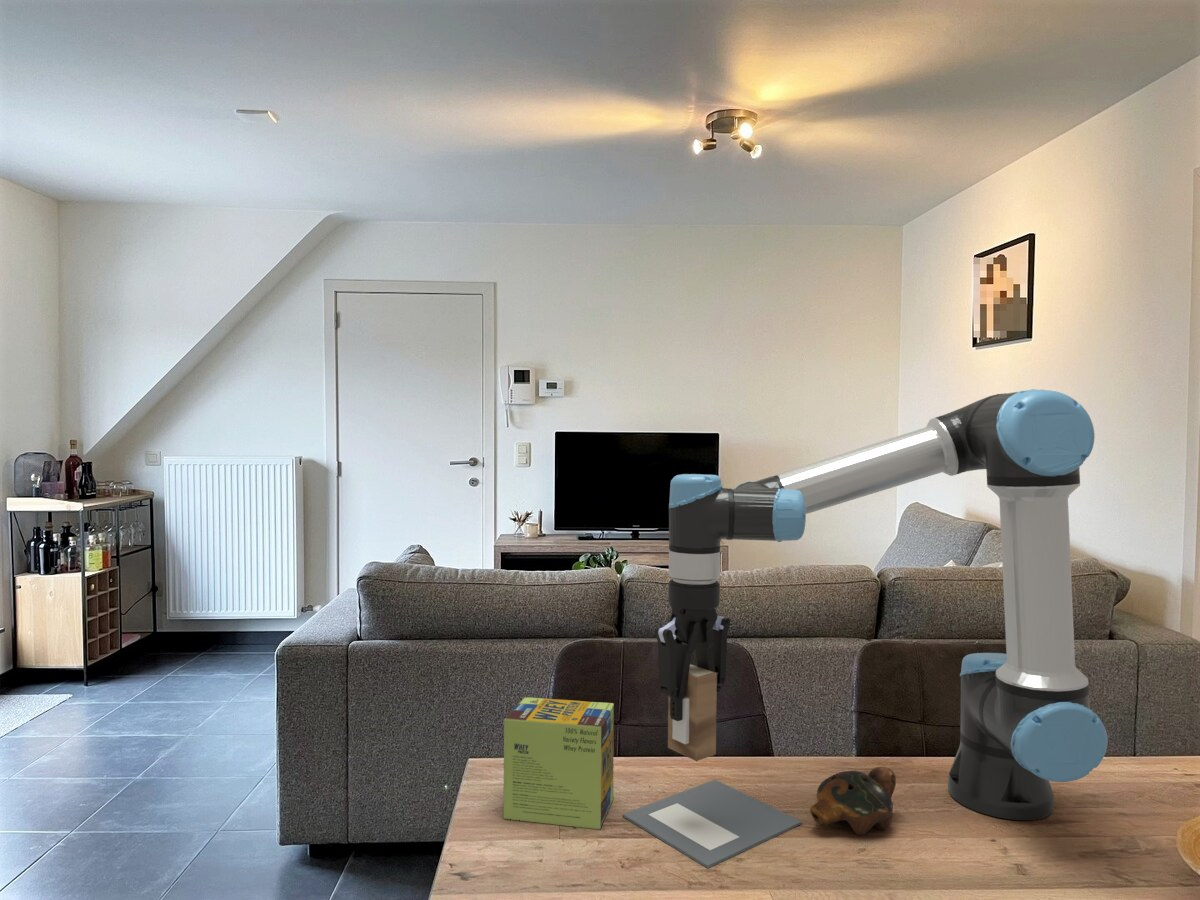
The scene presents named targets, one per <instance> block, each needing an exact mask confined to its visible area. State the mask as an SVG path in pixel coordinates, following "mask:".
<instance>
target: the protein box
mask: <svg viewBox="0 0 1200 900" xmlns="http://www.w3.org/2000/svg"><path fill="white" fill-rule="evenodd" d="M614 705H615V703H613V702H601V701H600V702H599V701H598V702H597V701H583V700H572V699H555V698H554V699H553V698H539V697H523V698H522V700H521V701H519V703H518V704H517V705H516V706H515V708H513V709H512V711H510V713H509V714H508V715H506V717H505V718H504V719H503V804H502V805H503V809H502V811H503V812H502V815H503V816H502V817H503V820H510V819H511V820H512V821H519V820H520V821H521V822H527V823H528V822H529V823H539V824H547V825H554V826H555V825H557V826H565V827H566V826H567V827H573V828H584V829H593V830H601V829H602V827H603V824H604V822H605V819H606V817H607V815H608V812H609V811H610V808H611V806H612V803H613V801H614V793H615V792H614V788H615V786H614V781H615V780H614V713H615V712H614V711H615V710H614V709H615V708H614V707H615V706H614ZM520 821H519V822H520Z"/></svg>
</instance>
